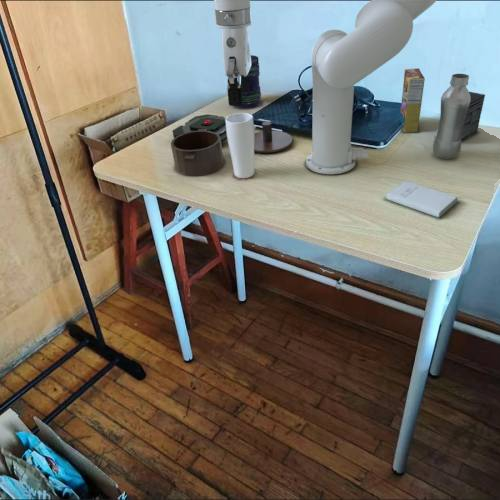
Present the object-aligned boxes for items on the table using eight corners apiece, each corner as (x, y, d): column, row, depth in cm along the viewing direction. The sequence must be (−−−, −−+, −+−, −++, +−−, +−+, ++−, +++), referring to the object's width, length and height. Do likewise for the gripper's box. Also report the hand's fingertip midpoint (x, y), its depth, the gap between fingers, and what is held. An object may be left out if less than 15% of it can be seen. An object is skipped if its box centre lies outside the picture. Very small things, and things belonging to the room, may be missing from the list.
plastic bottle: (450, 164, 113) (466, 82, 101) (425, 156, 117) (439, 76, 105) (464, 155, 116) (482, 75, 104) (440, 148, 120) (454, 70, 108)
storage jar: (267, 104, 157) (264, 58, 148) (242, 111, 153) (238, 65, 144) (251, 97, 164) (248, 53, 155) (228, 103, 160) (223, 59, 151)
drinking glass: (254, 181, 113) (250, 123, 104) (228, 180, 115) (221, 123, 106) (259, 168, 119) (255, 112, 110) (234, 167, 120) (228, 112, 111)
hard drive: (438, 218, 94) (385, 199, 102) (456, 202, 99) (404, 185, 106) (439, 212, 93) (386, 193, 101) (458, 196, 98) (405, 179, 105)
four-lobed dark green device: (217, 151, 129) (215, 136, 126) (167, 142, 137) (164, 127, 134) (248, 127, 141) (247, 113, 138) (201, 120, 149) (199, 106, 146)
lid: (293, 133, 135) (292, 113, 131) (291, 154, 124) (291, 132, 120) (246, 134, 137) (244, 114, 133) (240, 155, 126) (238, 134, 122)
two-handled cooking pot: (227, 149, 130) (225, 125, 125) (217, 180, 115) (214, 155, 111) (183, 150, 131) (179, 127, 127) (167, 181, 117) (162, 156, 112)
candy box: (398, 121, 137) (404, 68, 127) (413, 120, 136) (420, 67, 127) (402, 132, 130) (409, 78, 120) (417, 132, 129) (426, 77, 120)
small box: (456, 126, 130) (464, 89, 124) (478, 132, 126) (487, 94, 120) (434, 137, 126) (441, 99, 119) (456, 144, 121) (464, 105, 115)
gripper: (245, 25, 89) (250, 111, 99) (255, 9, 103) (259, 86, 113) (207, 27, 90) (216, 111, 100) (223, 10, 104) (229, 86, 114)
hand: (239, 98), depth 107 cm, fingers open, 9 cm apart
